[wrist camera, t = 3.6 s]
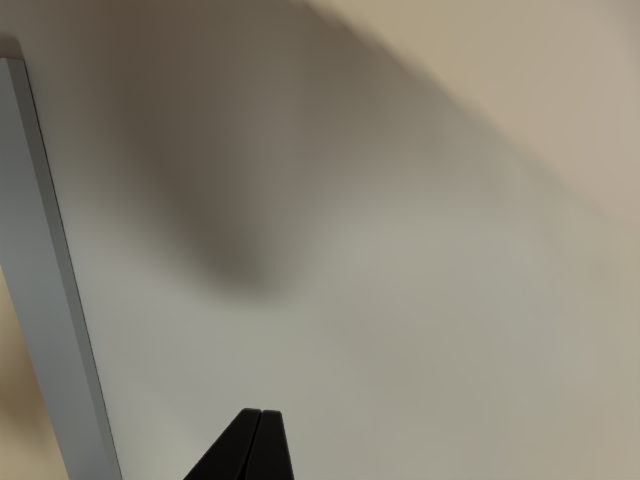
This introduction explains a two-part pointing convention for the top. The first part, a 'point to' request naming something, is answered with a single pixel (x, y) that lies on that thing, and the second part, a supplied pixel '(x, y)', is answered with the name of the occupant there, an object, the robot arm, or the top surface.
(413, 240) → the top surface
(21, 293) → the grey flat panel
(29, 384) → the oak T block
